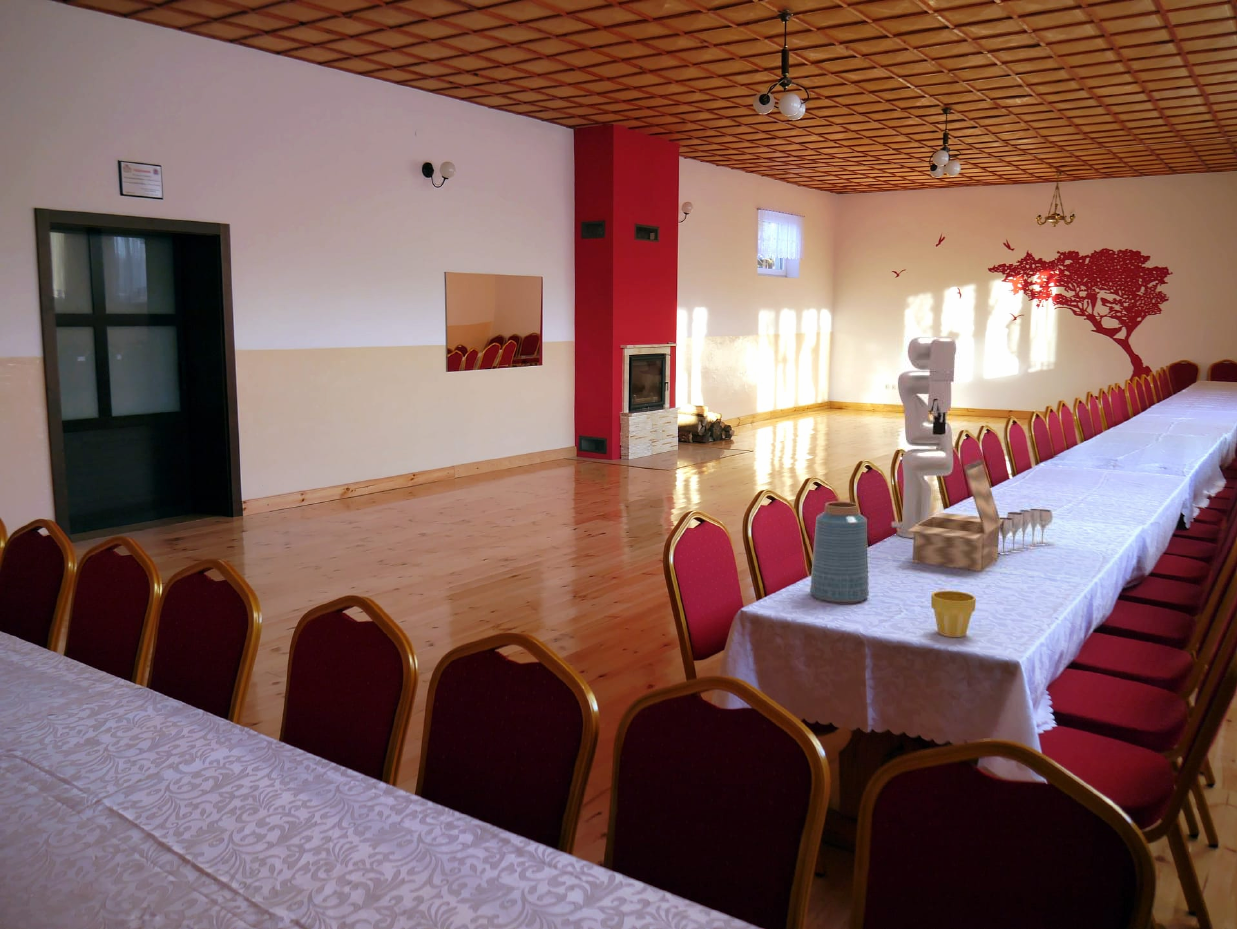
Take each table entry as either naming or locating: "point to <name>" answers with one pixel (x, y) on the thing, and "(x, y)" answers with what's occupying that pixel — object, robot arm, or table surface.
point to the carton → (955, 542)
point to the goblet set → (1024, 524)
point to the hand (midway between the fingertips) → (939, 433)
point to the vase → (840, 555)
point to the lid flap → (982, 496)
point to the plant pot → (952, 612)
